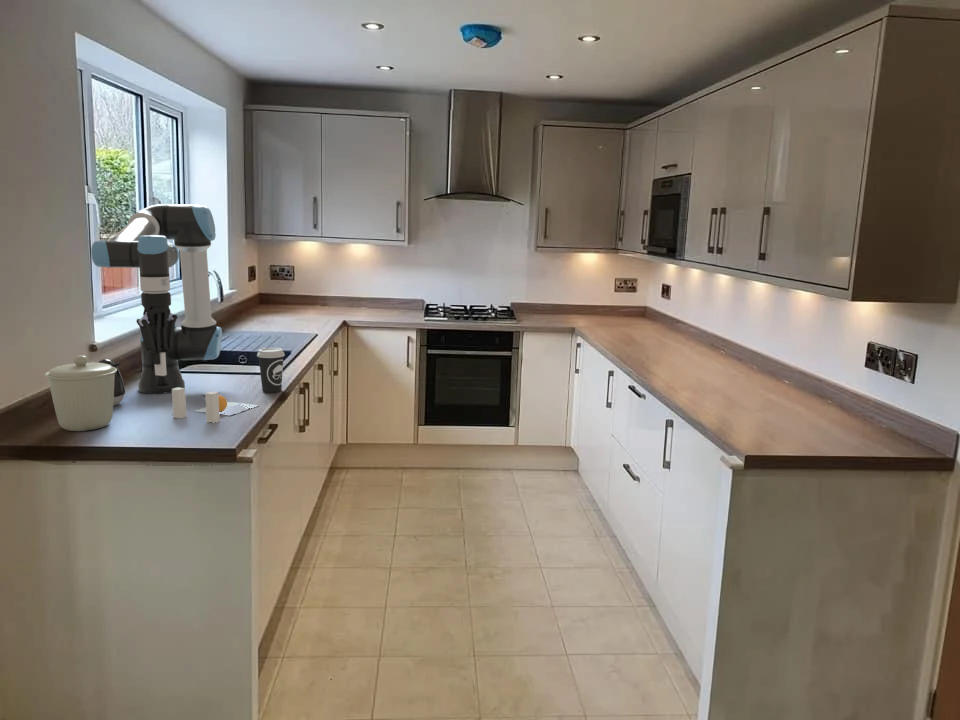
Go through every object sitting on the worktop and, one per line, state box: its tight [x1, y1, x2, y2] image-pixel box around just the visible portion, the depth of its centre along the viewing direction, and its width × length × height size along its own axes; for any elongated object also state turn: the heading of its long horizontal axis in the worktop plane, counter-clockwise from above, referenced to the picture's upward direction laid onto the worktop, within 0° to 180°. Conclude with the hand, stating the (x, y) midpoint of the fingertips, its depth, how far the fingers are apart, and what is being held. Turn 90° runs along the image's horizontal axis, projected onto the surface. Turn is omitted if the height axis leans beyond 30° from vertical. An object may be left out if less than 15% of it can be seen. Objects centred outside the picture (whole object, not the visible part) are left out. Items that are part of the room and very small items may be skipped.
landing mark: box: [194, 400, 260, 416], centre depth 231 cm, size 14×14×1 cm
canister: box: [44, 354, 117, 432], centre depth 206 cm, size 18×18×21 cm
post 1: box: [171, 387, 187, 419], centre depth 219 cm, size 3×3×9 cm
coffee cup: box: [256, 347, 286, 394], centre depth 254 cm, size 10×10×15 cm
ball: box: [218, 394, 228, 412], centre depth 226 cm, size 6×6×6 cm
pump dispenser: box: [96, 358, 126, 407], centre depth 231 cm, size 10×10×15 cm
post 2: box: [204, 391, 221, 424], centre depth 215 cm, size 3×3×9 cm
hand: (160, 374), depth 203 cm, fingers closed
